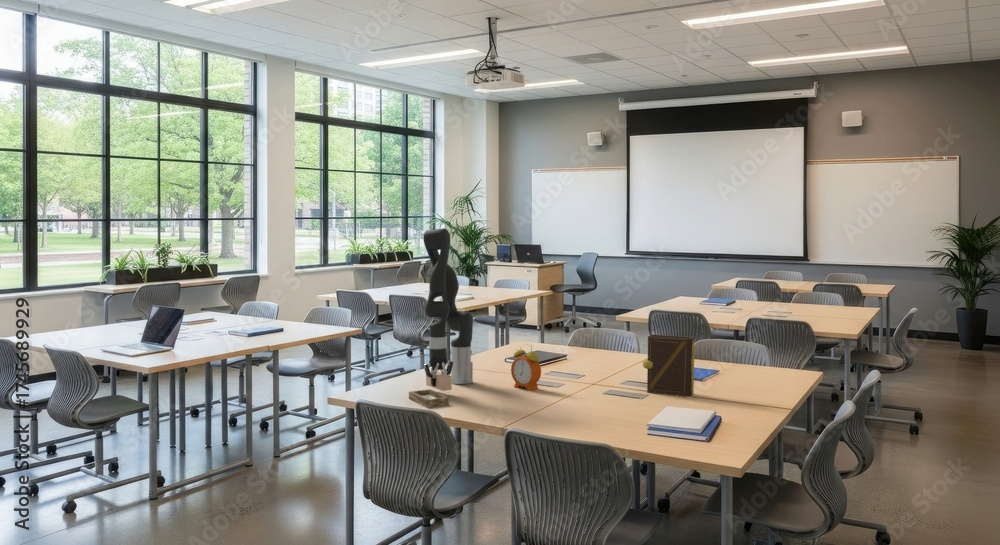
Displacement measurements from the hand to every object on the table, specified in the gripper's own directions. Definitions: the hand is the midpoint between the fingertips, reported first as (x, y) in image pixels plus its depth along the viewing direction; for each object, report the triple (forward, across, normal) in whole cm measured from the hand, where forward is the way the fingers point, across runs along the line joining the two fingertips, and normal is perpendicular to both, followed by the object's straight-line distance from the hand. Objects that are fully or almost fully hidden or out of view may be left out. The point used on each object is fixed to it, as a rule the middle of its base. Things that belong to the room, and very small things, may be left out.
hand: (438, 385), depth 336 cm
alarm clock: (+5, -39, +10) cm, 40 cm away
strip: (+1, 0, 0) cm, 1 cm away
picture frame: (+4, +10, +10) cm, 15 cm away
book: (+5, -87, +50) cm, 100 cm away
